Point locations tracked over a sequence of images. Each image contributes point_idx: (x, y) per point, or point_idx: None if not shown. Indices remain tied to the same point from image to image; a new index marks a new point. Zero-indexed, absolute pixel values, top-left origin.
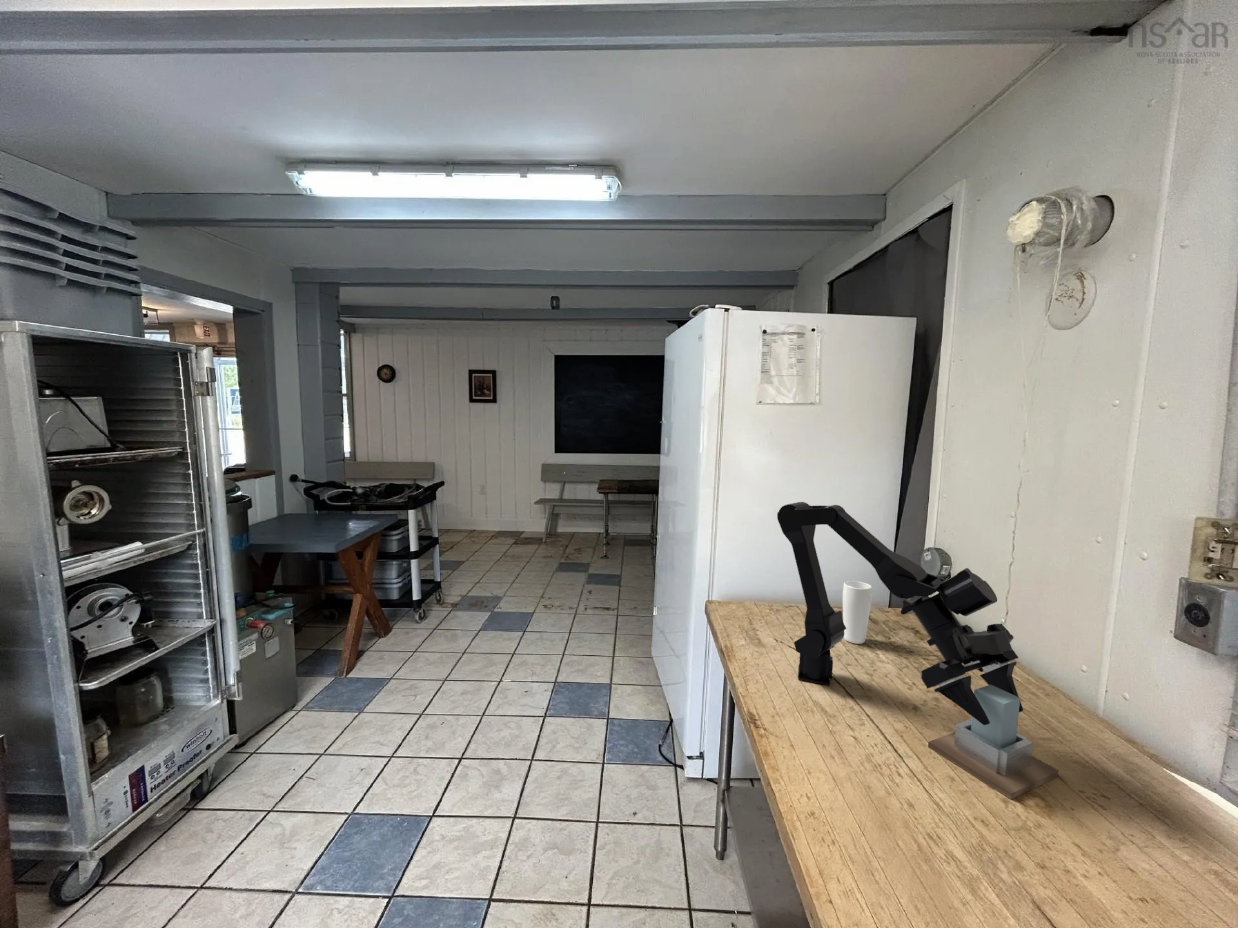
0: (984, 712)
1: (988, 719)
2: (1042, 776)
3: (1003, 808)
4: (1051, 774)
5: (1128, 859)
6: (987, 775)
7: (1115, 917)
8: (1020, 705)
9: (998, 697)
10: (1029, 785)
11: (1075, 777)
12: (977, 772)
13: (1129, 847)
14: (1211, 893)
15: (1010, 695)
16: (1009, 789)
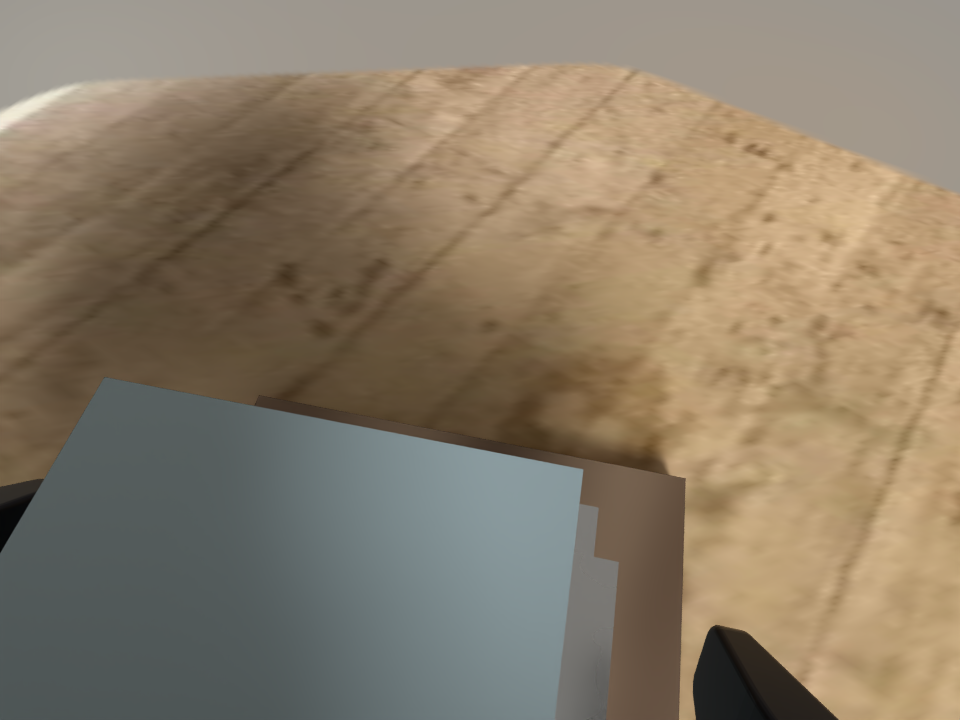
0: (781, 711)
1: (730, 645)
2: (387, 428)
3: (775, 489)
4: (325, 409)
5: (613, 187)
6: (651, 614)
7: (902, 174)
8: (3, 497)
9: (390, 625)
10: (520, 449)
11: (219, 363)
12: (678, 667)
13: (547, 193)
14: (557, 81)
15: (115, 502)
16: (659, 495)
